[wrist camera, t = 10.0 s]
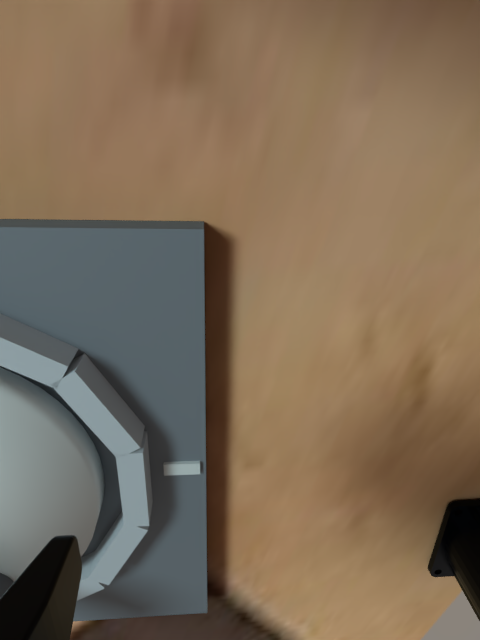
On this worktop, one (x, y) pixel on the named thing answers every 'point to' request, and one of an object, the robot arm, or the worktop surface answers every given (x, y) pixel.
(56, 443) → the dial knob
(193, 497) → the dial plate
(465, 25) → the worktop surface
